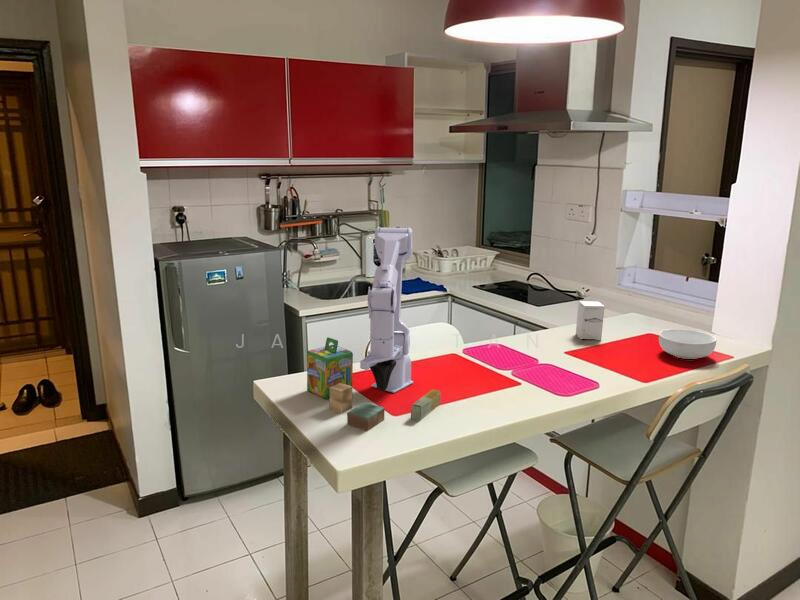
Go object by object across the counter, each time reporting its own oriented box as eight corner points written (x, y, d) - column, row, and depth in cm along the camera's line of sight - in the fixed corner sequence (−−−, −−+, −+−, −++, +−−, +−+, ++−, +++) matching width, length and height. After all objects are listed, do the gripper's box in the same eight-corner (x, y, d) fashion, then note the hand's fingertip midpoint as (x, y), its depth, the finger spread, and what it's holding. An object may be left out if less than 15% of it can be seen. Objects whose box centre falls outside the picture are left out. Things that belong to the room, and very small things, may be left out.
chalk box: (306, 391, 164) (304, 339, 160) (333, 382, 170) (332, 332, 167) (327, 400, 158) (326, 347, 154) (354, 391, 164) (353, 339, 160)
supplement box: (580, 340, 211) (583, 305, 208) (575, 334, 218) (578, 300, 215) (601, 340, 210) (605, 305, 207) (595, 334, 217) (599, 300, 214)
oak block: (340, 404, 155) (340, 382, 154) (352, 408, 153) (352, 386, 152) (329, 409, 152) (329, 387, 151) (341, 413, 150) (341, 391, 149)
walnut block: (364, 402, 149) (347, 412, 143) (384, 407, 146) (368, 418, 140) (364, 415, 150) (347, 425, 144) (384, 420, 147) (368, 431, 141)
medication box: (419, 422, 146) (420, 407, 145) (410, 419, 147) (410, 404, 146) (440, 404, 156) (441, 390, 155) (431, 402, 158) (431, 388, 157)
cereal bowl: (676, 345, 206) (679, 325, 205) (724, 359, 193) (727, 338, 191) (646, 353, 197) (648, 333, 196) (693, 368, 184) (696, 346, 182)
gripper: (386, 326, 153) (386, 376, 157) (350, 340, 142) (350, 394, 145) (409, 331, 149) (408, 382, 153) (373, 346, 138) (373, 401, 141)
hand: (382, 388), depth 149 cm, fingers closed
